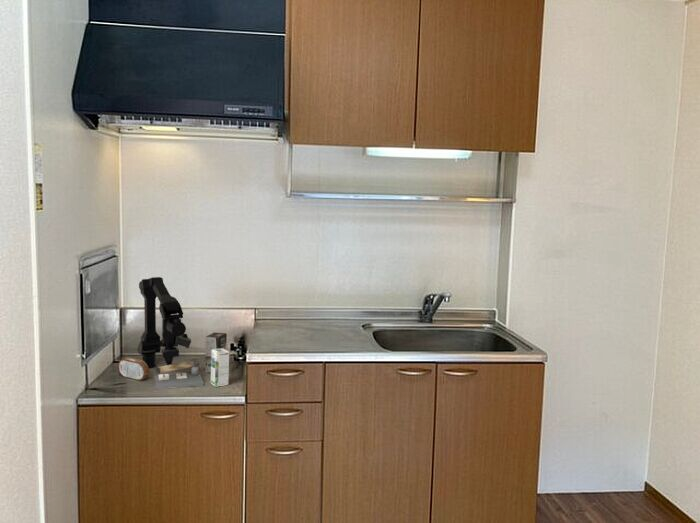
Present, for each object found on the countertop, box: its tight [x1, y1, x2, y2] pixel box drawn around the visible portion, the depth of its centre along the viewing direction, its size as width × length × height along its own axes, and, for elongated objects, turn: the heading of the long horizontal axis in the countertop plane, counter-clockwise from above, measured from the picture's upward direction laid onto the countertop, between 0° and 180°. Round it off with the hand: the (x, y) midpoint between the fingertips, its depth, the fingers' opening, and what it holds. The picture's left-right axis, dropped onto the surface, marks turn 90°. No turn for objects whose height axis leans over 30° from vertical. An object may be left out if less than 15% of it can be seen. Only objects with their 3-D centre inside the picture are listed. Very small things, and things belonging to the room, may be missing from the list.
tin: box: [118, 356, 150, 381], centre depth 233 cm, size 15×3×8 cm, turn 65°
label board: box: [154, 366, 204, 389], centre depth 231 cm, size 14×18×5 cm
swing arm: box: [154, 358, 200, 375], centre depth 231 cm, size 20×4×2 cm, turn 138°
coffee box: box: [204, 332, 228, 373], centre depth 249 cm, size 9×6×16 cm
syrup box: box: [210, 349, 230, 388], centre depth 230 cm, size 6×6×14 cm
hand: (169, 367), depth 231 cm, fingers closed
